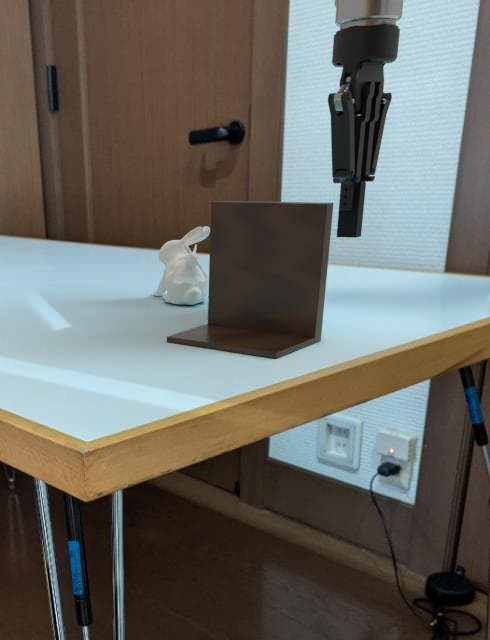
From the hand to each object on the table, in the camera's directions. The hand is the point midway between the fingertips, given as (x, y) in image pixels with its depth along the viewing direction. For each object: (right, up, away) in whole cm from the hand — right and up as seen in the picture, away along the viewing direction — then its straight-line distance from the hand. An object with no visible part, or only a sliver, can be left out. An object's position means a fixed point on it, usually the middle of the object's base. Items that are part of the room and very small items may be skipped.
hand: (348, 236), depth 106 cm
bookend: (-17, -18, -17) cm, 30 cm away
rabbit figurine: (-20, -6, +7) cm, 22 cm away
